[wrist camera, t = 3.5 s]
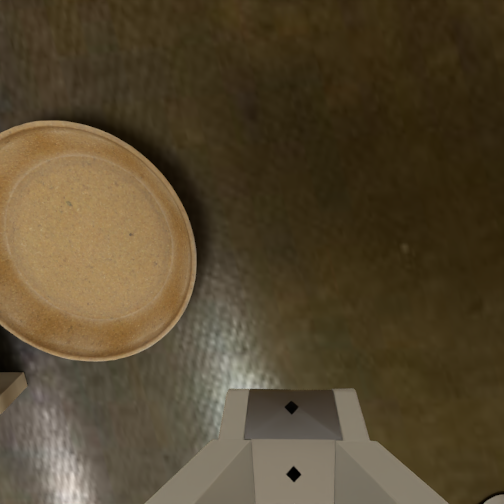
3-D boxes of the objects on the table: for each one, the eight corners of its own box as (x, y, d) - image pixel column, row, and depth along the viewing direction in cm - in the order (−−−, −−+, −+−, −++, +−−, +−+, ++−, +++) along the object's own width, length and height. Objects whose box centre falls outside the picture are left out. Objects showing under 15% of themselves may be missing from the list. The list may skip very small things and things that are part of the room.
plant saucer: (-65, 217, 26) (-102, 228, 23) (89, 63, 22) (65, 57, 20) (93, 374, 29) (75, 398, 26) (251, 263, 25) (248, 279, 23)
